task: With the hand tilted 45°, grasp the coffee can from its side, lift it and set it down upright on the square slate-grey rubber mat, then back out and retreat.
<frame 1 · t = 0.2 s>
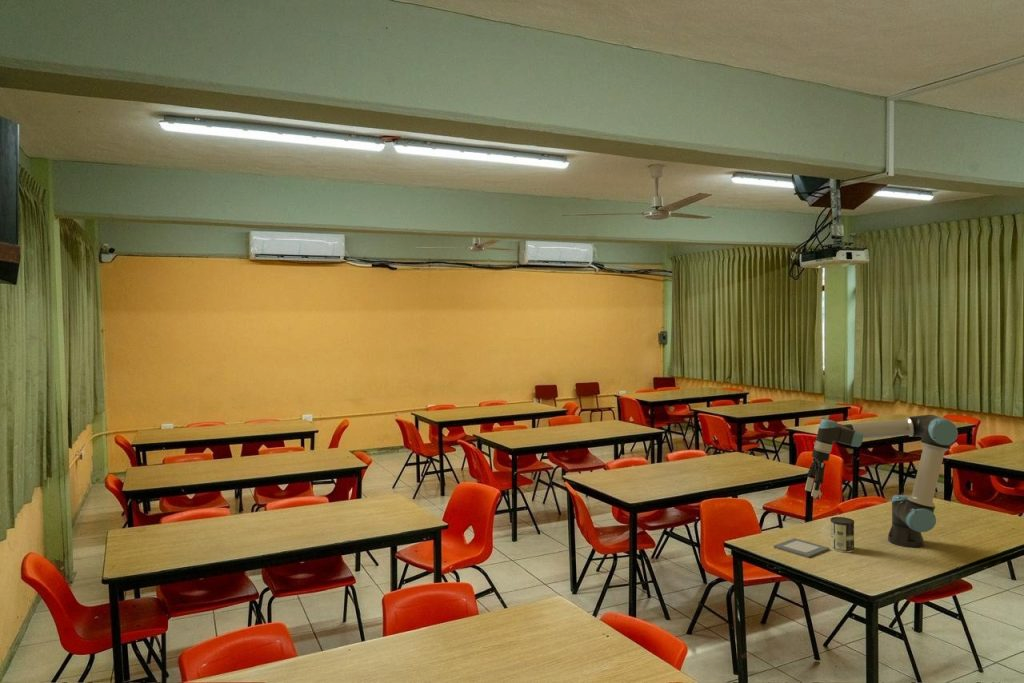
hand: (810, 493, 320), 26 cm above the table, tool pointing down, fingers open, 13 cm apart
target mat: (801, 548, 319), on the table
coffee can: (842, 549, 318), on the table
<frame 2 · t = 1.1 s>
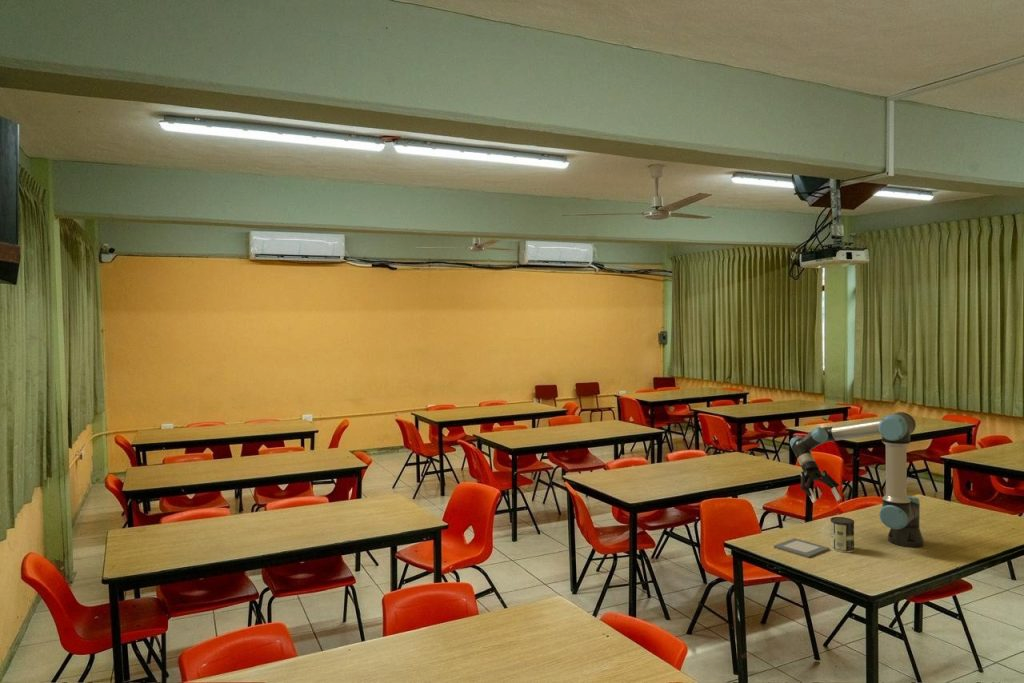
hand: (827, 500, 328), 20 cm above the table, tool tilted 45°, fingers open, 13 cm apart
nothing on the table moved.
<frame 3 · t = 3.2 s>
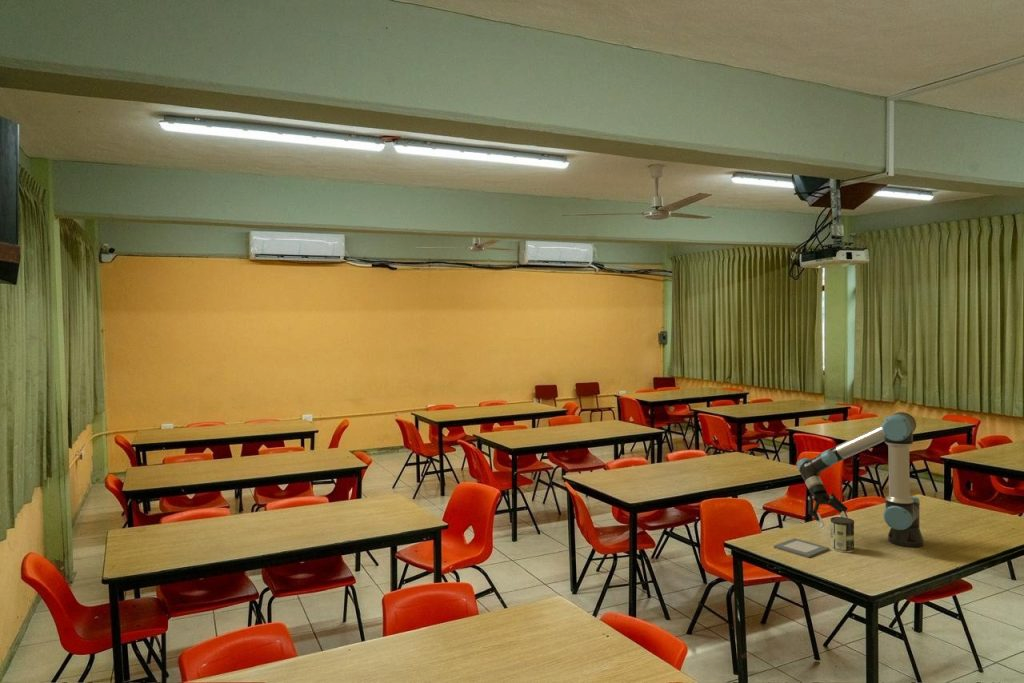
hand: (835, 525, 322), 10 cm above the table, tool tilted 45°, fingers open, 13 cm apart
nothing on the table moved.
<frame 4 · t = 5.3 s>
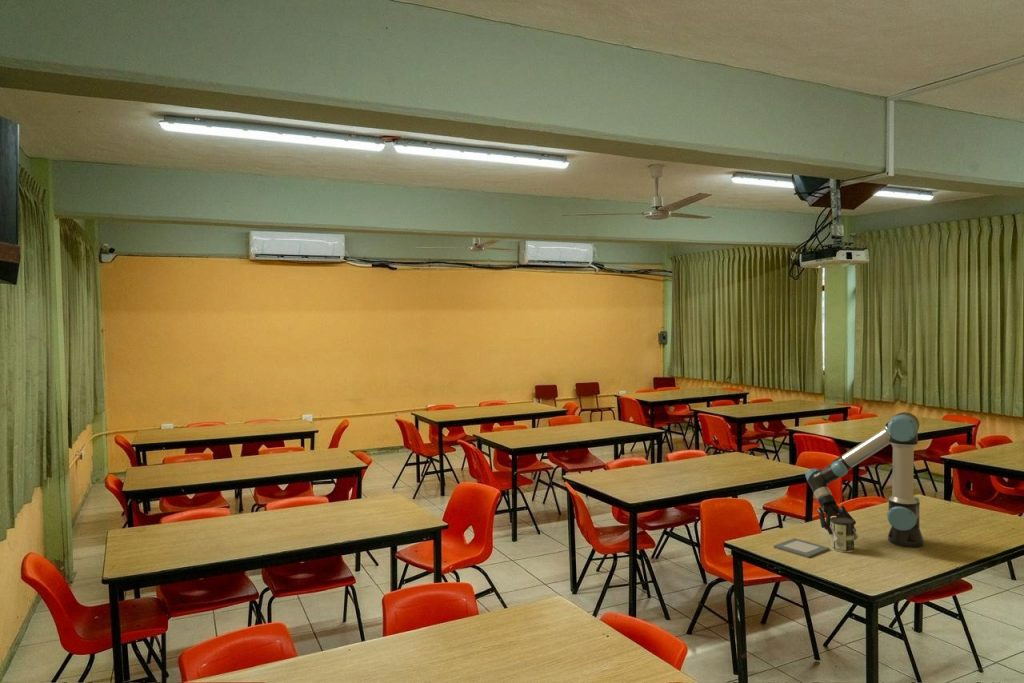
hand: (846, 539, 315), 6 cm above the table, tool tilted 45°, fingers closed on coffee can, 10 cm apart
coffee can: (842, 549, 318), on the table, touching gripper
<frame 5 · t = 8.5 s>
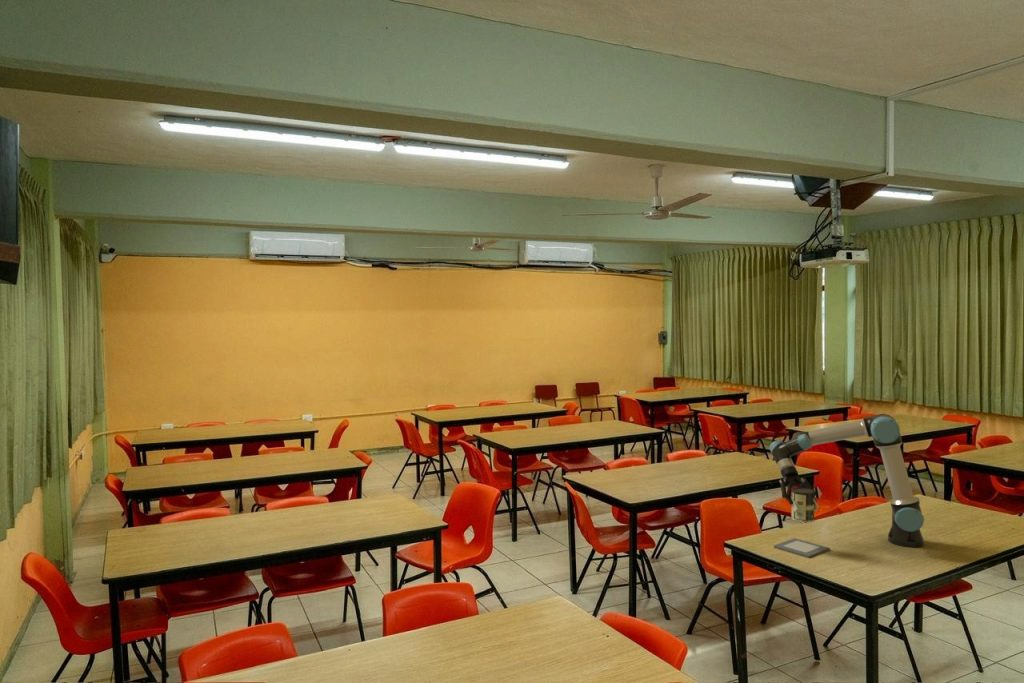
hand: (806, 509, 316), 20 cm above the table, tool tilted 45°, fingers closed on coffee can, 10 cm apart
coffee can: (802, 519, 319), point 14 cm above the table, touching gripper
when the fingers open (8 cm above the table, at t = 11.7 s): coffee can drops 1 cm, resting on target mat.
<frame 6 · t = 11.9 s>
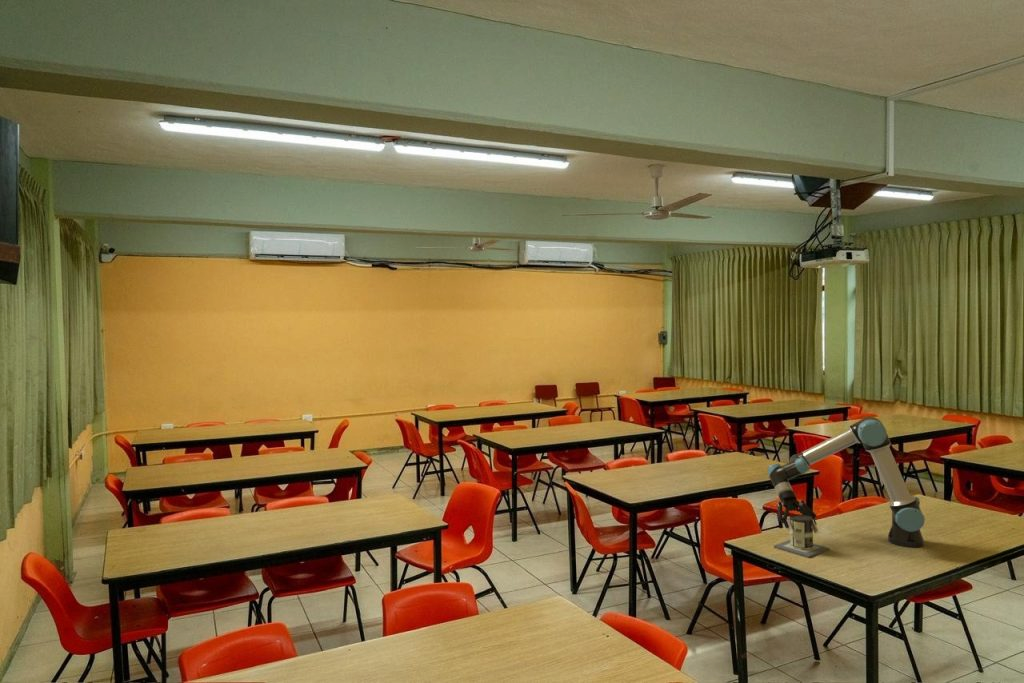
hand: (804, 532, 317), 8 cm above the table, tool tilted 45°, fingers open, 12 cm apart
coffee can: (801, 546, 319), point 1 cm above the table, touching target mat
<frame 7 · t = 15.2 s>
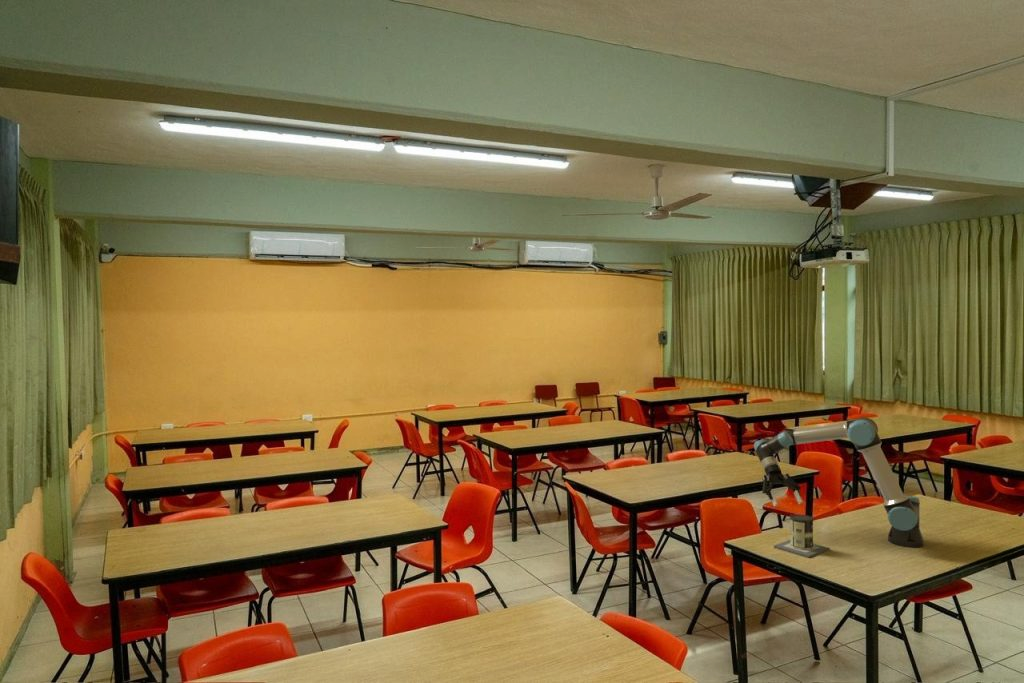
hand: (788, 504, 329), 19 cm above the table, tool tilted 45°, fingers open, 13 cm apart
nothing on the table moved.
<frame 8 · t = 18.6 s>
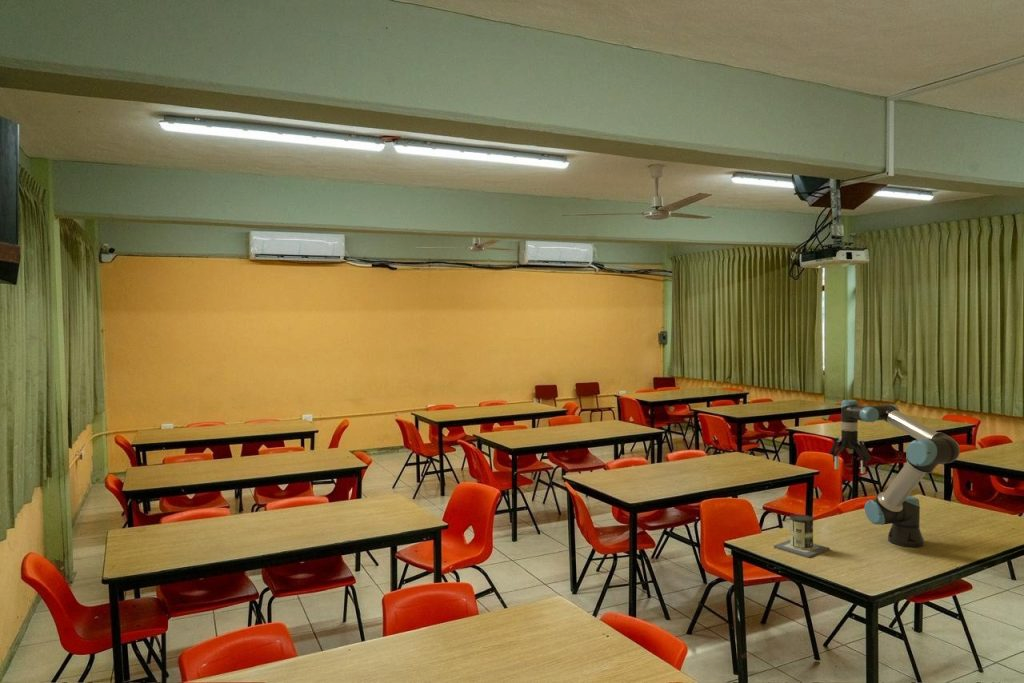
hand: (849, 470, 343), 32 cm above the table, tool pointing down, fingers open, 13 cm apart
nothing on the table moved.
at the end: coffee can inside the target area on the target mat (0.3 cm from its centre), point 0.9 cm above the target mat's base; coffee can tilted 0°; the gripper is holding nothing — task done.
